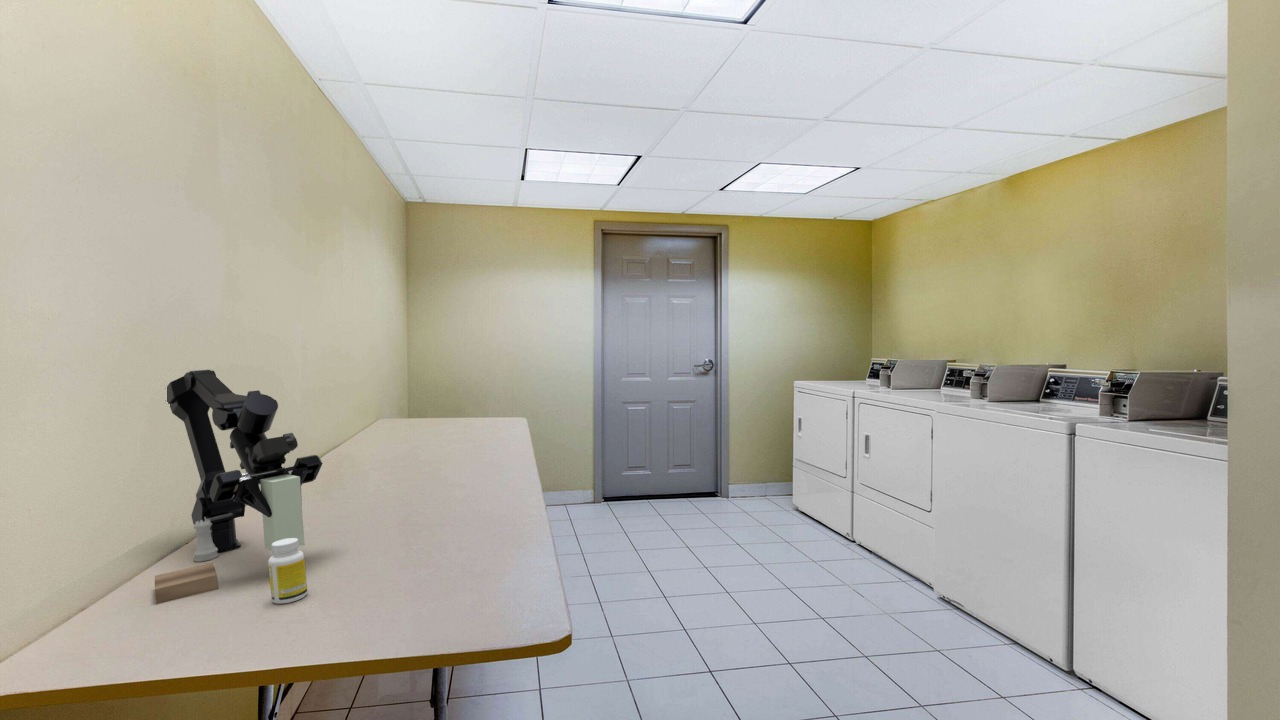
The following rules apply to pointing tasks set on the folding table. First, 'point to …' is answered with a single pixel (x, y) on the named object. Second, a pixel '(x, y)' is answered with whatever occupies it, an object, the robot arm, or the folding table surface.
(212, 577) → the walnut block
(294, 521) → the sage post
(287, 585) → the supplement bottle
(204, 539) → the rook chess piece
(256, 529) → the folding table surface
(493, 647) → the folding table surface
